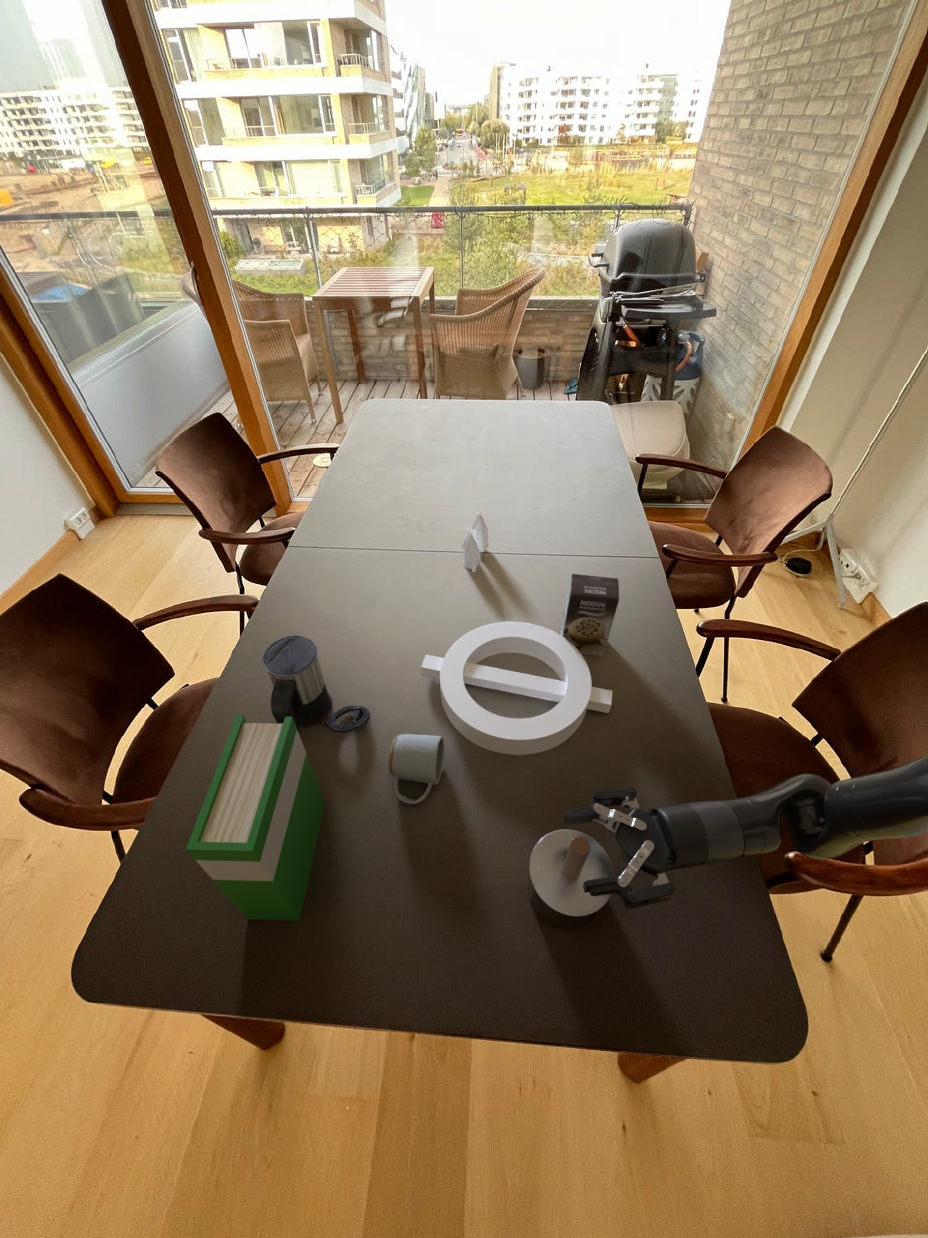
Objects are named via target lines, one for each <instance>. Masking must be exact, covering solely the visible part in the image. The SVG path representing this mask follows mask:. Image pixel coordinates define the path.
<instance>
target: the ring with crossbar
mask: <svg viewBox="0 0 928 1238" xmlns="http://www.w3.org/2000/svg"><path fill="white" fill-rule="evenodd" d="M509 653H510V654H521V655H526V656H530V657H533V658H536V659H537V660H539V661H541V662H543V663H545V664H546V665H548V666H549V667H550V668H551V669H552V670H553V671H554V672H555V673H556V675H557V676H558V678H559V679H560V680H559V679H555V678H551V677H550V678H549V677H545V676H544V677H543V676H540V675H534V674H528V673H523V672H518V671H513V670H508V669H503V668H498V667H493V666H487V665H482V664H479V663H480V662H481V661H483V660H485V659H487V658H489V657H492V656H495V655H499V654H509ZM588 665H589V664H588V663H587V661H586V658H584V656H583V654H581V653H580V652H579V651H578V650H577V648H576V647H575V646H574V645H573V644H571V643H570V642H569V641H568V640H567V639H565V638H564V637H562V636H561V635H560V633H558V632H556V631H553V630H551V629H549V628H547V627H545V626H542V625H539V624H535V623H529V622H523V621H498V622H492V623H488V624H484V625H482V626H478V627H475V628H473V629H472V630H469V631H468V632H466V633H465V634H463V635H462V636H460V637H459V638H458V639H457V640H455V642H453V644H451V646H450V647H449V649H448V650H447V651H446V653H445V655H444V657H442V656H436V655H431V654H425V656H424V658H423V661H422V664H421V666H420V672H421V673H420V674H421V676H424V677H428V678H435V679H439V687H440V699H441V706H442V708H443V711H444V713H445V715H446V717H447V719H448V721H449V722H450V724H451V725H452V726H453V727H454V728H455V730H456V731H457V732H458V733H459V734H461V736H463V737H464V738H465V739H467V740H468V741H469V742H471V743H473V744H475V745H476V746H478V747H481V748H483V749H484V750H488V751H492V752H495V753H499V754H504V755H513V756H526V755H532V754H533V755H534V754H539V753H542V752H546V751H549V750H551V749H554V748H556V747H558V746H559V745H561V744H563V743H564V742H566V741H567V740H568V739H570V738H571V737H572V736H573V735H574V734H575V732H576V731H577V730H578V729H579V727H580V726H581V724H582V722H583V721H584V719H585V716H586V713H587V710H591V711H595V712H600V713H606V714H610V712H611V708H612V704H613V703H612V701H613V690H611V689H606V688H600V687H595V686H592V676H591V675H592V674H591V672H590V668H589V666H588ZM465 684H467V685H472V686H476V687H480V688H481V687H482V688H486V689H492V690H497V691H501V692H506V693H511V694H515V695H520V696H526V697H531V698H534V699H535V698H536V699H541V700H546V701H551V702H556V703H557V704H555V706H554V707H553V708H551V709H549V710H548V711H546V712H544V713H541V714H539V715H536V716H532V717H525V718H516V717H515V718H512V717H506V716H502V715H498V714H495V713H493V712H491V711H489V710H487V709H485V708H483V707H482V706H480V705H479V704H478V703H477V702H476V701H475V700H474V699H473V698H472V697H471V694H470V693H469V692H468V690H467V688H466V685H465Z"/></svg>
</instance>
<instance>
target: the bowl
mask: <svg viewBox="0 0 928 1238" xmlns="http://www.w3.org/2000/svg"><path fill="white" fill-rule="evenodd" d="M527 889H528V890H527V892H528V898H529V901H530V903H531V906H532V908H533V910H534V912H535V913H536V914H537V916H539V918H540V919H541V920H542V921H543V922H544V923H546V924H547V925H548V926H551V927H552V928H554V929H557V930H561V931H571V932H572V931H576V930H581V929H582V928H585V927H587V926H588V925H589V924H591V922H592V921H594V919H595V918H596V916H597V914H598V912H599V911H597V912H595V913H594V914H591V915H589V916H585V917H569V916H565V915H562V914H559V913H557V912H555V911H554V910H552V909H551V908H549V907H548V906H547V905H546V904H544V902H543V901H542V900H541V899H540V898H539V896H538V895H537V894H536V892H535V890H534V888H533V885H532V883H531V879H530V876H529V878H528V884H527Z"/></svg>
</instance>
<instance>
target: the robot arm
mask: <svg viewBox="0 0 928 1238" xmlns="http://www.w3.org/2000/svg"><path fill="white" fill-rule="evenodd" d="M637 795H638V790H637V788H635V787H625V788H622V787H621V788H611V789H600V790H595V791H594V792H593V794H592V798H591V800H590V805H588V806H581V807H576V808H575V807H573V808H571V809H569V810H568V812H567V813H565V815H564V818H563V821H564V824H565V826H574V825H581V824H587V823H592V822H593V821H594V822H597V823H599V824H601V825H602V826H605V828H606V829H607V830H609V831H612V832H613V833H615V835H614V838H615V841H616V843H617V845H618V846H619V848H620V854H621V858H622V860H623V861H625V862H626V864H627V865H626V867H625V868H624V870H623V872H621V874H620V875H619V877H617V878H616V876H615V875H614V876H611V877H605V878H599V879H592V880H587V881H585V882H584V884H583V889H584V892H585V893H587V892H589V893H590V895H591V896H601V895H607V894H611V895H613V894H614V895H615V894H616V895H618V896H619V897H620V899H621V900H622V901H623V905H624V907H625V908H626V909H627V910H632V909H637V908H641V907H644V906H650V905H654V904H657V903H661V902H666V901H669V900H670V899H671V898H672V897H673V896H674V894H675V893H676V889H677V888H676V886H675V884H674V883H672V882H670V880H669V879H668V876H667V874H666V873H667V872H668V871H676V870H683V869H689V868H695V867H702V866H713V865H716V864H719V863H724V862H728V861H730V860H733V859H738V858H744V857H750V856H756V855H762V854H768V853H771V852H774V851H777V850H778V849H779V847H780V846H781V844H782V841H783V825H782V819H783V823H784V825H785V828H786V831H787V834H788V836H789V839H790V841H791V844H792V846H793V847H794V848H795V850H796V851H797V852H798V853H800V854H801V855H802V856H804V857H806V858H808V859H812V860H817V861H825V860H831V859H835V858H838V857H841V856H843V855H845V854H847V853H849V852H850V851H852V850H854V849H855V848H856V847H859V846H860V845H861V844H864V843H866V842H874V841H884V840H886V841H887V840H897V839H907V838H912V837H916V836H919V835H923V834H925V833H927V832H928V753H927V754H925V755H924V756H921V757H918V758H917V759H915V760H912V761H910V762H907V763H905V764H903V765H900V766H897V767H894V768H889V769H886V770H882V771H878V772H873V773H868V774H863V775H858V776H854V777H850V778H846V779H841V780H838V781H836V782H834V783H832V784H831V783H830V781H828V780H827V779H826V778H823V777H822V776H821V775H816V774H812V773H801V774H797V775H793V776H791V777H788V778H787V779H785V780H783V781H781V782H779V783H777V784H775V785H774V786H772V787H770V788H768V789H766V790H763V791H761V792H758V793H755V794H751V795H748V796H742V797H736V798H729V799H723V800H722V799H721V800H703V801H694V802H689V803H682V804H675V805H669V806H668V805H667V806H661V807H660V806H659V807H654V808H650V809H645V808H641V807H640V805H639V802H638V799H637ZM616 806H621V808H622V809H628V810H629V812H628V814H626V813H624V812H622V811H620V810H617V809H611V808H609V807H616ZM640 871H642V872H644V873H646V874H648V875H649V876H651V877H654V878H656V879H654V880H653V883H651V886H649V887H644V888H640V889H636V890H633V889H632V888H631V886H630V884H631V883H632V882H633V880H634V879H635V878H636V876H637V875H638V873H639V872H640Z"/></svg>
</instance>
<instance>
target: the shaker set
mask: <svg viewBox="0 0 928 1238" xmlns="http://www.w3.org/2000/svg"><path fill="white" fill-rule="evenodd" d="M488 548H489V530H488V526H487V524H486V521H485V519H484V517H483V515H482V513H481V512H479V511H478V512H477V513H476V514H475V516H474V518H473V520H472V523H471V532H467V534H466V535H465V537H464V539H463V542H462V562H463V564H462V565H463V566H464V568H465V569H470V570H471V572H472V573H476V572H477V568H478V567H479V566H480V552H481V553H486V549H488Z"/></svg>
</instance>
